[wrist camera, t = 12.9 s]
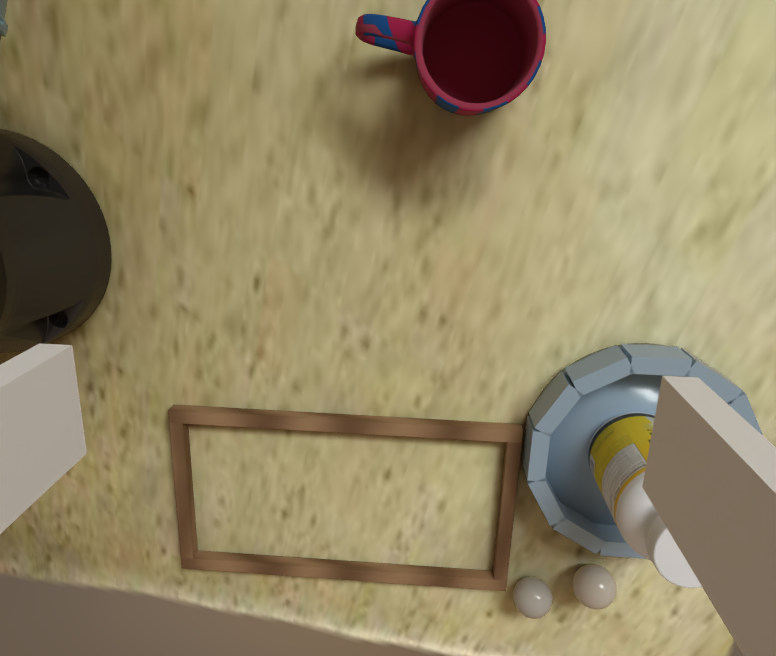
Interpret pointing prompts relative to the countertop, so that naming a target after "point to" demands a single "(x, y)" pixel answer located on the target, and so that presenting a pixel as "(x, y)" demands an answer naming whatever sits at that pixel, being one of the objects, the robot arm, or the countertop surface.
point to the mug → (467, 49)
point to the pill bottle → (635, 493)
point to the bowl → (582, 419)
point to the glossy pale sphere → (532, 597)
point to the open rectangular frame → (343, 424)
